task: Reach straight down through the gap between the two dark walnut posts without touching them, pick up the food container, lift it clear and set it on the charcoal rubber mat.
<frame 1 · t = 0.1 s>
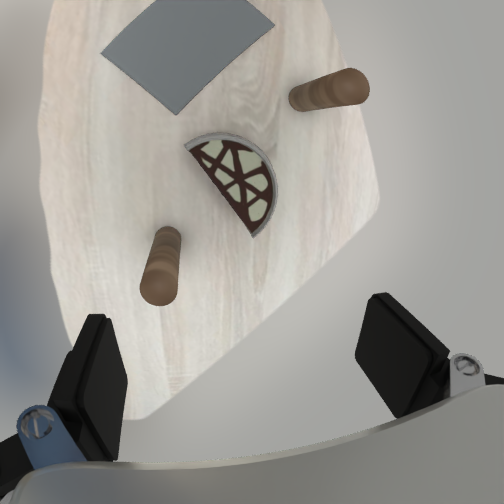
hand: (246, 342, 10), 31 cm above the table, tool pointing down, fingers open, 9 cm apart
charcoal mat: (187, 33, 30), on the table
food container: (233, 166, 38), on the table
walnut post 2: (167, 239, 40), on the table
walnut post 1: (301, 98, 36), on the table
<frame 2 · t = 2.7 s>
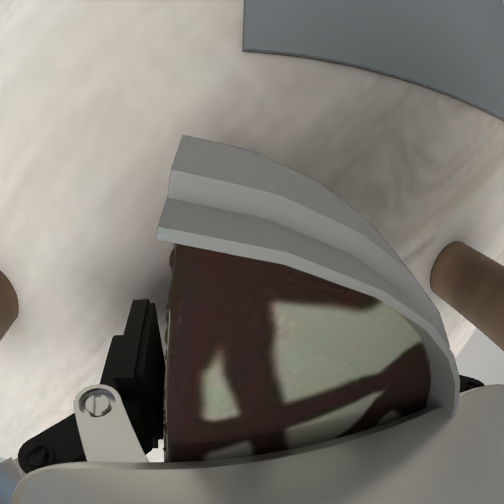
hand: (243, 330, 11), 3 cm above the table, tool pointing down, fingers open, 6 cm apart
food container: (239, 288, 14), on the table, touching gripper
walnut post 1: (450, 269, 16), on the table
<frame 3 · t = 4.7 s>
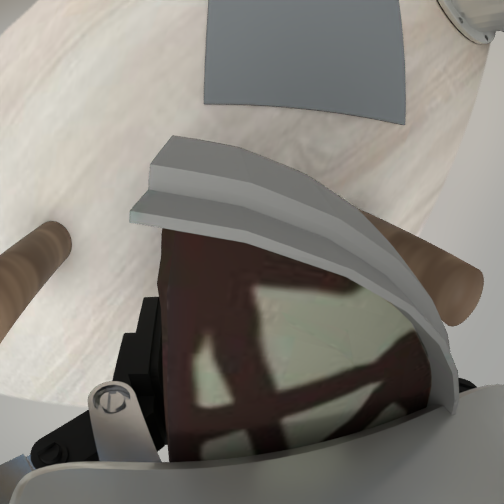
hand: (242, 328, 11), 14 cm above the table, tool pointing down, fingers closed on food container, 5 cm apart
charcoal mat: (317, 34, 20), on the table
food container: (251, 287, 14), point 11 cm above the table, touching gripper
walnut post 2: (53, 242, 21), on the table
walnut post 1: (351, 227, 26), on the table
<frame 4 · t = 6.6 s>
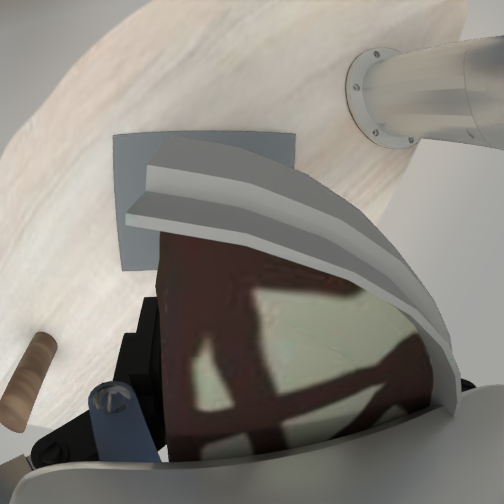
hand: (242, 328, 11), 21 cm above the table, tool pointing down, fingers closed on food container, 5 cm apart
charcoal mat: (204, 201, 30), on the table
food container: (251, 288, 14), point 18 cm above the table, touching gripper
walnut post 2: (45, 343, 31), on the table
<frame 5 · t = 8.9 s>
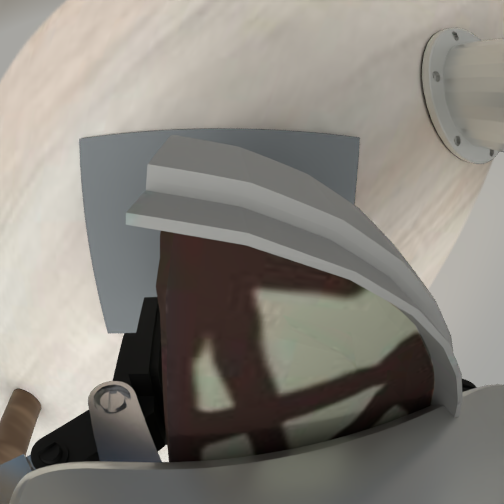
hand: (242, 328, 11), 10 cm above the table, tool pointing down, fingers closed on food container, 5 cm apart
charcoal mat: (222, 237, 20), on the table
food container: (252, 288, 14), point 7 cm above the table, touching gripper
walnut post 2: (26, 400, 22), on the table
when the fingers open (4 cm above the table, at t = 10.4 s): food container drops 1 cm, resting on charcoal mat.
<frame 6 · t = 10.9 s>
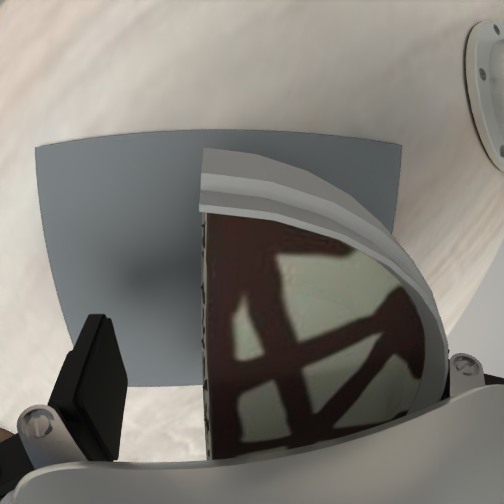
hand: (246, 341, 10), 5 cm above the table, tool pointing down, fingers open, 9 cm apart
charcoal mat: (226, 276, 15), on the table
food container: (264, 274, 15), resting on charcoal mat, touching gripper
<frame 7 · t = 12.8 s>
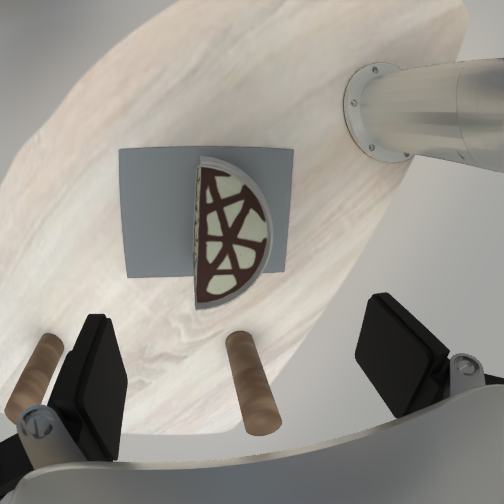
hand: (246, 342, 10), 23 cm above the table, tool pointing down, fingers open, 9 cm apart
charcoal mat: (205, 213, 32), on the table
food container: (223, 211, 32), resting on charcoal mat
walnut post 2: (52, 344, 33), on the table
walnut post 1: (239, 342, 39), on the table
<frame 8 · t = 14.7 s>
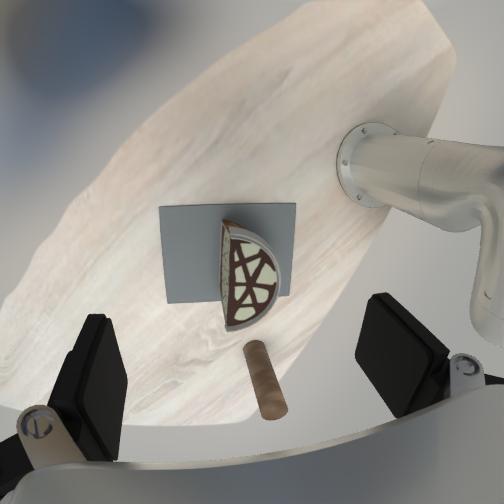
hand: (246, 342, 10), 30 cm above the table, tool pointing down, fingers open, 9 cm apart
charcoal mat: (228, 254, 42), on the table
food container: (242, 253, 42), resting on charcoal mat
walnut post 1: (254, 348, 49), on the table
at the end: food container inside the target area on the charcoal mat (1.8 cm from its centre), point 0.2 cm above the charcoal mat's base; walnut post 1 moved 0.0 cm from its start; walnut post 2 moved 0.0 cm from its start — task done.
